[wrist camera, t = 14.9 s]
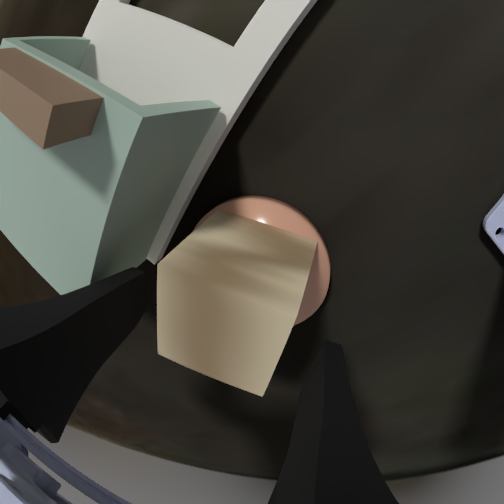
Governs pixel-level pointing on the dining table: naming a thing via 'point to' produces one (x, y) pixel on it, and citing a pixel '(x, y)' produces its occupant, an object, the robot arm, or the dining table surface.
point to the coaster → (292, 221)
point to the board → (185, 73)
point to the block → (232, 298)
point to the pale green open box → (85, 163)
